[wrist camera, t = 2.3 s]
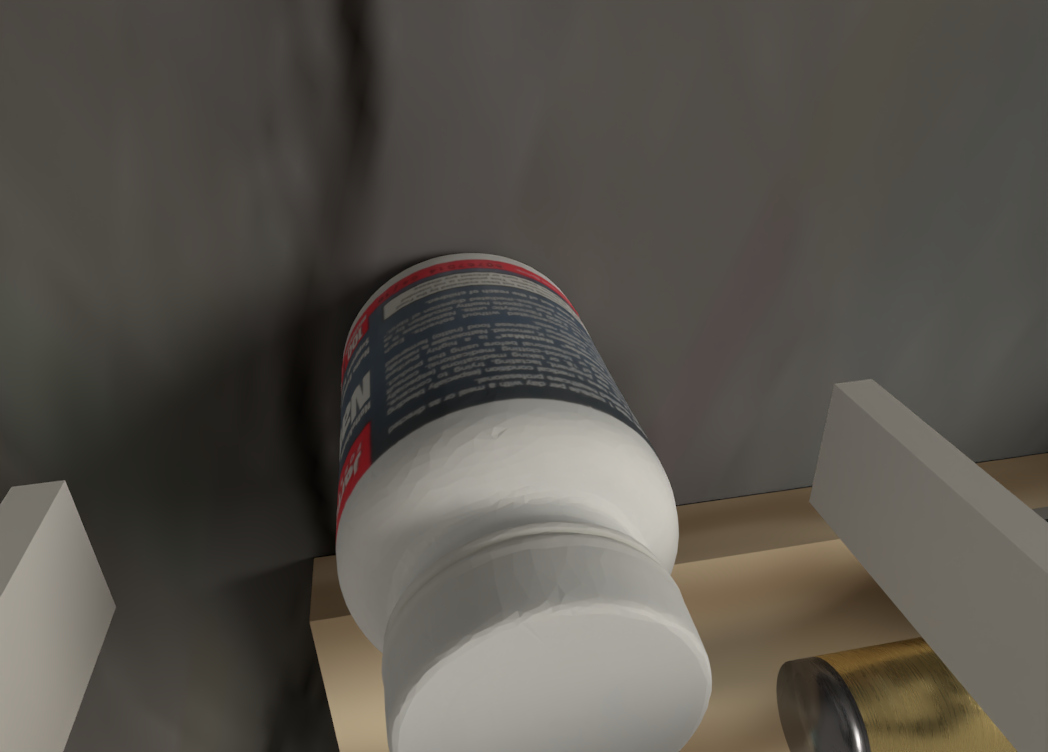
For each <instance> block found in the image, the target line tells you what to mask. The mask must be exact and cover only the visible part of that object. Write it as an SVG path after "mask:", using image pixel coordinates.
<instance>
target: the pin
mask: <svg viewBox="0 0 1048 752" xmlns="http://www.w3.org/2000/svg"><path fill="white" fill-rule="evenodd" d="M776 694H777V705H778V711H779V717H780V721H781V725H782V729H783V732H784V736H785V739H786V742H787V744H788V747H789V749H790V752H1018V751H1017V750H1016V749H1015V748H1014V747H1013V745H1012V744H1011V743H1010V742H1009V741H1008V739H1007V738H1006V737H1005V736H1004V735H1003V733H1002V732H1001V731H1000V730H999V729H998V727H997V726H996V725H995V724H994V723H993V722H992V720H991V719H990V718H989V717H988V716H987V714H986V713H985V712H984V711H983V710H982V708H981V707H980V706H979V705H978V704H977V702H976V701H975V700H974V699H973V698H972V696H971V695H970V694H969V693H968V692H967V690H966V689H965V688H964V687H963V686H962V684H961V683H960V682H959V681H958V680H957V678H956V677H955V676H954V675H953V674H952V672H951V671H950V670H949V669H948V668H947V666H946V665H945V664H944V663H943V662H942V660H941V659H940V658H939V657H938V656H937V654H936V653H935V652H934V651H933V650H932V648H931V647H930V646H929V645H928V644H927V642H926V641H925V640H924V639H923V638H922V637H918V638H912V639H907V640H901V641H896V642H890V643H885V644H879V645H874V646H868V647H863V648H857V649H852V650H846V651H840V652H835V653H829V654H824V655H818V656H813V657H807V658H802V659H796V660H791V661H787V662H785V663H784V664H783V665H782V666H781V668H780V670H779V673H778V677H777V685H776Z"/></svg>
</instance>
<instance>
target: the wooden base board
mask: <svg viewBox="0 0 1048 752" xmlns="http://www.w3.org/2000/svg"><path fill="white" fill-rule="evenodd" d="M975 464H977V465H978V466H979V467H980V468H982V469H983V470H984V471H985V472H986V473H988V474H989V475H990V476H991V477H993V478H994V479H995V480H996V481H998V482H999V483H1000V484H1001V485H1002V486H1004V487H1005V488H1006V489H1007V490H1009V491H1010V492H1011V493H1012V494H1013V495H1015V496H1016V497H1017V498H1018V499H1020V500H1021V501H1022V502H1023V503H1024V504H1026V505H1027V506H1028V507H1029V508H1031V509H1032V510H1033V511H1034V512H1035V513H1037V514H1038V515H1039V516H1040V517H1042V518H1043V519H1048V453H1045V454H1038V455H1031V456H1024V457H1017V458H1010V459H1003V460H996V461H989V462H982V463H975ZM811 491H812V487H807V488H800V489H793V490H786V491H779V492H772V493H765V494H759V495H752V496H745V497H738V498H731V499H724V500H717V501H710V502H703V503H696V504H689V505H682V506H676V510H677V515H678V526H679V540H678V550H677V555H676V559H675V563H674V566H673V569H672V573H671V577H672V578H673V580H674V581H675V583H676V584H677V586H678V588H679V589H680V592H681V595H682V597H683V600H684V603H685V605H686V607H687V609H688V611H689V614H690V616H691V618H692V620H693V623H694V625H695V627H696V629H697V631H698V634H699V636H700V639H701V641H702V643H703V646H704V648H705V651H706V653H707V655H708V659H709V663H710V668H711V675H712V692H711V695H710V698H709V704H708V708H707V710H706V712H705V714H704V717H703V719H702V721H701V723H700V725H699V726H698V728H697V729H696V731H695V733H694V734H693V735H692V737H691V738H690V739H689V741H688V742H687V743H686V744H685V745H684V747H683V748H682V749H681V750H680V751H679V752H790V749H789V747H788V744H787V742H786V739H785V736H784V732H783V729H782V725H781V721H780V717H779V711H778V705H777V694H776V685H777V677H778V673H779V670H780V668H781V666H782V665H783V664H784V663H785V662H787V661H791V660H796V659H802V658H807V657H813V656H818V655H824V654H829V653H835V652H840V651H846V650H852V649H857V648H863V647H868V646H874V645H879V644H885V643H890V642H896V641H901V640H907V639H912V638H918V637H922V636H921V635H920V634H919V633H918V632H917V630H916V629H915V628H914V627H913V626H912V624H911V623H910V622H909V621H908V620H907V618H906V617H905V616H904V615H903V614H902V612H901V611H900V610H899V609H898V608H897V606H896V605H895V604H894V603H893V602H892V600H891V599H890V598H889V597H888V596H887V594H886V593H885V592H884V591H883V590H882V588H881V587H880V586H879V585H878V584H877V582H876V581H875V580H874V579H873V578H872V576H871V575H870V574H869V573H868V572H867V570H866V569H865V568H864V567H863V566H862V565H861V563H860V562H859V561H858V560H857V559H856V557H855V556H854V555H853V554H852V553H851V551H850V550H849V549H848V548H847V547H846V545H845V544H844V543H843V542H842V541H841V539H840V538H839V537H838V536H837V535H836V533H835V532H834V531H833V530H832V529H831V527H830V526H829V525H828V524H827V523H826V521H825V520H824V519H823V518H822V517H821V515H820V514H819V513H818V512H817V511H816V509H815V508H814V507H813V506H812V505H811V503H810V502H809V500H810V495H811ZM309 622H310V626H311V630H312V635H313V639H314V643H315V648H316V652H317V656H318V660H319V665H320V669H321V673H322V677H323V682H324V686H325V690H326V695H327V699H328V703H329V707H330V712H331V716H332V720H333V724H334V729H335V733H336V737H337V742H338V746H339V750H340V752H389V747H388V741H387V730H386V717H385V700H384V685H383V681H382V656H383V653H381V652H380V651H379V650H378V649H377V648H376V647H375V646H374V645H373V644H372V643H371V642H370V641H369V640H368V638H367V637H366V636H365V635H364V633H363V632H362V631H361V629H360V628H359V627H358V625H357V624H356V622H355V620H354V618H353V617H352V615H351V613H350V611H349V609H348V607H347V605H346V603H345V600H344V597H343V594H342V591H341V588H340V584H339V579H338V572H337V560H336V555H333V556H326V557H319V558H314V565H313V579H312V593H311V607H310V621H309Z"/></svg>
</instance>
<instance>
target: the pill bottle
mask: <svg viewBox="0 0 1048 752" xmlns="http://www.w3.org/2000/svg"><path fill="white" fill-rule="evenodd" d="M336 526H337V528H336V560H337V572H338V579H339V584H340V588H341V591H342V594H343V597H344V600H345V603H346V605H347V607H348V609H349V611H350V613H351V615H352V617H353V618H354V620H355V622H356V624H357V625H358V627H359V628H360V629H361V631H362V632H363V633H364V635H365V636H366V637H367V638H368V640H369V641H370V642H371V643H372V644H373V645H374V646H375V647H376V648H377V649H378V650H379V651H380V652H381V653H383V656H382V681H383V685H384V700H385V717H386V730H387V741H388V747H389V752H679V751H680V750H681V749H682V748H683V747H684V745H685V744H686V743H687V742H688V741H689V739H690V738H691V737H692V735H693V734H694V733H695V731H696V729H697V728H698V726H699V725H700V723H701V721H702V719H703V717H704V714H705V712H706V710H707V708H708V704H709V698H710V695H711V692H712V675H711V668H710V663H709V659H708V655H707V653H706V651H705V648H704V646H703V643H702V641H701V639H700V636H699V634H698V631H697V629H696V627H695V625H694V623H693V620H692V618H691V616H690V614H689V611H688V609H687V607H686V605H685V603H684V600H683V597H682V595H681V592H680V589H679V588H678V586H677V584H676V583H675V581H674V580H673V578H672V577H671V573H672V569H673V566H674V563H675V559H676V555H677V550H678V540H679V526H678V515H677V510H676V504H675V500H674V495H673V491H672V488H671V485H670V483H669V480H668V478H667V475H666V473H665V471H664V469H663V467H662V465H661V463H660V460H659V459H658V456H657V454H656V452H655V450H654V448H653V447H652V445H651V443H650V442H649V440H648V438H647V437H646V435H645V433H644V432H643V430H642V428H641V426H640V425H639V423H638V422H637V420H636V418H635V416H634V415H633V413H632V411H631V410H630V408H629V406H628V404H627V403H626V401H625V399H624V397H623V396H622V394H621V392H620V390H619V389H618V387H617V385H616V384H615V382H614V380H613V378H612V376H611V375H610V373H609V371H608V369H607V367H606V366H605V364H604V362H603V360H602V358H601V356H600V354H599V353H598V351H597V349H596V347H595V345H594V343H593V341H592V339H591V337H590V336H589V334H588V332H587V330H586V329H585V327H584V325H583V323H582V321H581V319H580V317H579V315H578V313H577V312H576V310H575V309H574V308H573V306H572V305H571V303H570V302H569V300H568V299H567V297H566V296H565V295H564V294H563V292H562V291H561V290H560V289H559V288H558V287H557V286H556V285H555V284H554V283H553V282H552V281H551V280H549V279H548V278H547V277H546V276H544V275H543V274H541V273H540V272H538V271H536V270H535V269H533V268H531V267H530V266H527V265H525V264H523V263H521V262H518V261H516V260H512V259H509V258H506V257H503V256H497V255H492V254H482V253H459V254H451V255H445V256H440V257H436V258H432V259H429V260H426V261H424V262H421V263H419V264H416V265H414V266H412V267H410V268H408V269H406V270H404V271H402V272H401V273H399V274H398V275H396V276H394V277H393V278H391V279H390V280H389V281H388V282H386V283H385V284H384V285H382V286H381V287H380V288H379V289H378V290H377V291H376V292H375V293H374V294H373V295H372V296H371V297H370V298H369V300H368V301H367V302H366V303H365V305H364V306H363V307H362V309H361V310H360V312H359V313H358V315H357V317H356V319H355V320H354V322H353V324H352V326H351V329H350V331H349V334H348V337H347V340H346V344H345V349H344V353H343V364H342V381H341V427H340V458H339V482H338V502H337V521H336Z"/></svg>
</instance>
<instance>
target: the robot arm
mask: <svg viewBox="0 0 1048 752" xmlns="http://www.w3.org/2000/svg"><path fill="white" fill-rule="evenodd" d="M809 502H810V503H811V505H812V506H813V507H814V508H815V509H816V511H817V512H818V513H819V514H820V515H821V517H822V518H823V519H824V520H825V521H826V523H827V524H828V525H829V526H830V527H831V529H832V530H833V531H834V532H835V533H836V535H837V536H838V537H839V538H840V539H841V541H842V542H843V543H844V544H845V545H846V547H847V548H848V549H849V550H850V551H851V553H852V554H853V555H854V556H855V557H856V559H857V560H858V561H859V562H860V563H861V565H862V566H863V567H864V568H865V569H866V570H867V572H868V573H869V574H870V575H871V576H872V578H873V579H874V580H875V581H876V582H877V584H878V585H879V586H880V587H881V588H882V590H883V591H884V592H885V593H886V594H887V596H888V597H889V598H890V599H891V600H892V602H893V603H894V604H895V605H896V606H897V608H898V609H899V610H900V611H901V612H902V614H903V615H904V616H905V617H906V618H907V620H908V621H909V622H910V623H911V624H912V626H913V627H914V628H915V629H916V630H917V632H918V633H919V634H920V635H921V636H922V638H923V639H924V640H925V641H926V642H927V644H928V645H929V646H930V647H931V648H932V650H933V651H934V652H935V653H936V654H937V656H938V657H939V658H940V659H941V660H942V662H943V663H944V664H945V665H946V666H947V668H948V669H949V670H950V671H951V672H952V674H953V675H954V676H955V677H956V678H957V680H958V681H959V682H960V683H961V684H962V686H963V687H964V688H965V689H966V690H967V692H968V693H969V694H970V695H971V696H972V698H973V699H974V700H975V701H976V702H977V704H978V705H979V706H980V707H981V708H982V710H983V711H984V712H985V713H986V714H987V716H988V717H989V718H990V719H991V720H992V722H993V723H994V724H995V725H996V726H997V727H998V729H999V730H1000V731H1001V732H1002V733H1003V735H1004V736H1005V737H1006V738H1007V739H1008V741H1009V742H1010V743H1011V744H1012V745H1013V747H1014V748H1015V749H1016V750H1017V751H1018V752H1048V519H1043V518H1042V517H1040V516H1039V515H1038V514H1037V513H1035V512H1034V511H1033V510H1032V509H1031V508H1029V507H1028V506H1027V505H1026V504H1024V503H1023V502H1022V501H1021V500H1020V499H1018V498H1017V497H1016V496H1015V495H1013V494H1012V493H1011V492H1010V491H1009V490H1007V489H1006V488H1005V487H1004V486H1002V485H1001V484H1000V483H999V482H998V481H996V480H995V479H994V478H993V477H991V476H990V475H989V474H988V473H986V472H985V471H984V470H983V469H982V468H980V467H979V466H978V465H977V464H975V463H974V462H973V461H972V460H971V459H969V458H968V457H967V456H966V455H964V454H963V453H962V452H961V451H960V450H958V449H957V448H956V447H955V446H953V445H952V444H951V443H950V442H948V441H947V440H946V439H945V438H944V437H942V436H941V435H940V434H939V433H937V432H936V431H935V430H934V429H933V428H931V427H930V426H929V425H928V424H926V423H925V422H924V421H923V420H922V419H920V418H919V417H918V416H917V415H915V414H914V413H913V412H912V411H910V410H909V409H908V408H907V407H906V406H904V405H903V404H902V403H901V402H899V401H898V400H897V399H896V398H895V397H893V396H892V395H891V394H890V393H888V392H887V391H886V390H885V389H884V388H882V387H881V386H880V385H879V384H877V383H876V382H875V381H874V380H873V379H869V380H861V381H853V382H845V383H837V384H834V388H833V392H832V397H831V402H830V406H829V411H828V416H827V420H826V425H825V430H824V434H823V439H822V444H821V448H820V453H819V458H818V463H817V467H816V472H815V477H814V481H813V486H812V491H811V495H810V500H809ZM115 609H116V606H115V603H114V601H113V598H112V596H111V593H110V591H109V588H108V586H107V583H106V581H105V578H104V576H103V573H102V571H101V568H100V566H99V563H98V561H97V558H96V556H95V553H94V551H93V548H92V546H91V543H90V541H89V539H88V536H87V534H86V531H85V529H84V526H83V524H82V521H81V519H80V516H79V514H78V511H77V509H76V506H75V504H74V501H73V499H72V496H71V494H70V491H69V489H68V486H67V484H66V481H65V480H63V481H55V482H47V483H39V484H31V485H23V486H15V487H11V488H10V490H9V491H8V493H7V495H6V496H5V498H4V499H3V501H2V502H1V504H0V752H63V751H64V748H65V745H66V742H67V740H68V737H69V734H70V732H71V729H72V726H73V723H74V721H75V718H76V715H77V712H78V710H79V707H80V704H81V701H82V699H83V696H84V693H85V691H86V688H87V685H88V682H89V680H90V677H91V674H92V671H93V669H94V666H95V663H96V660H97V658H98V655H99V652H100V650H101V647H102V644H103V641H104V639H105V636H106V633H107V630H108V628H109V625H110V622H111V620H112V617H113V614H114V611H115Z"/></svg>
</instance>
